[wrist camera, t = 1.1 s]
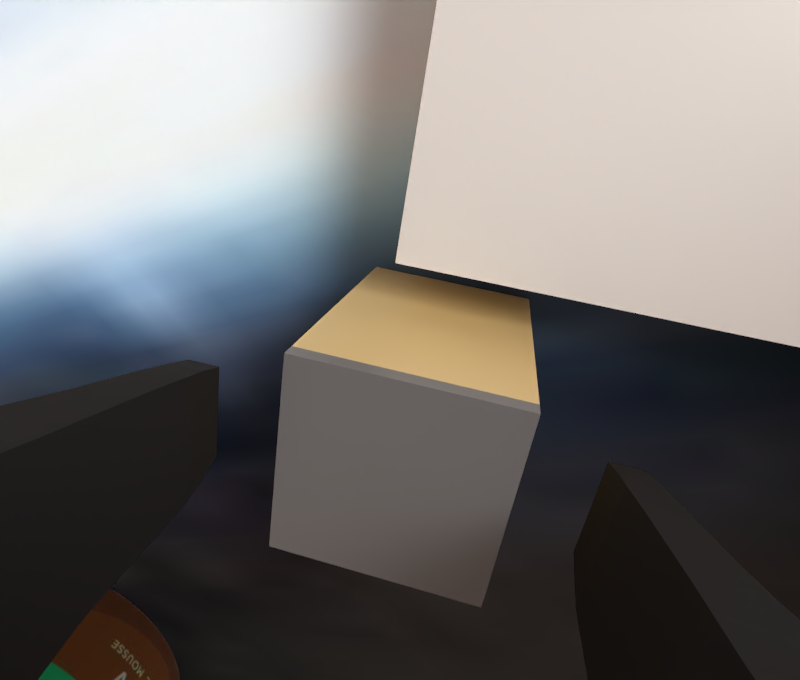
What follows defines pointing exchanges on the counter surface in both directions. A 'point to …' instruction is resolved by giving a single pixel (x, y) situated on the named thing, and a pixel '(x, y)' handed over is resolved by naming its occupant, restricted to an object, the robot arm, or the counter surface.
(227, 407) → the counter surface
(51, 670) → the food container
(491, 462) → the plug
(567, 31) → the socket plate
